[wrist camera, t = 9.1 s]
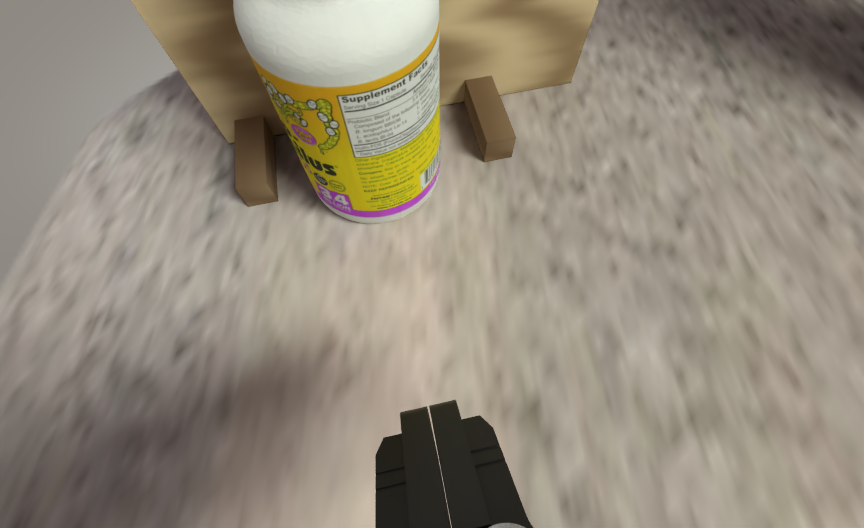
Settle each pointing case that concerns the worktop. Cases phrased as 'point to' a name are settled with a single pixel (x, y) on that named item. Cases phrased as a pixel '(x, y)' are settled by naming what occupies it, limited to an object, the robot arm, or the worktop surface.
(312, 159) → the supplement bottle
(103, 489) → the worktop surface
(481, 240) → the worktop surface
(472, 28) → the wall board
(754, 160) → the worktop surface
